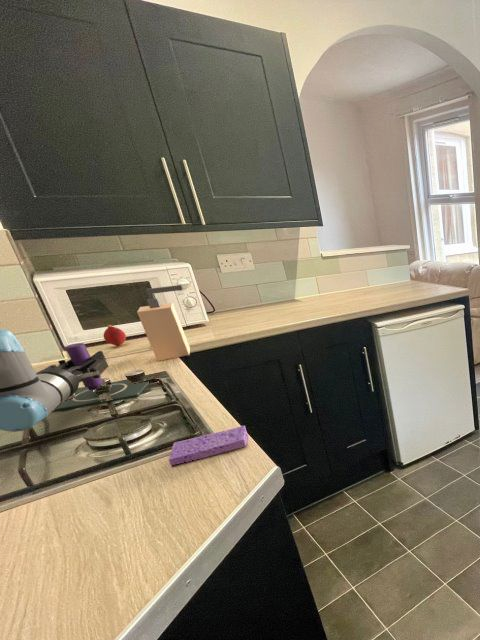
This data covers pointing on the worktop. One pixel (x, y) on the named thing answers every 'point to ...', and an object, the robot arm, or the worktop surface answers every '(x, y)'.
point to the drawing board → (90, 398)
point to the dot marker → (79, 357)
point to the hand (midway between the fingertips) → (92, 357)
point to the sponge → (208, 445)
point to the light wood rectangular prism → (163, 326)
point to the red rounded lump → (114, 335)
